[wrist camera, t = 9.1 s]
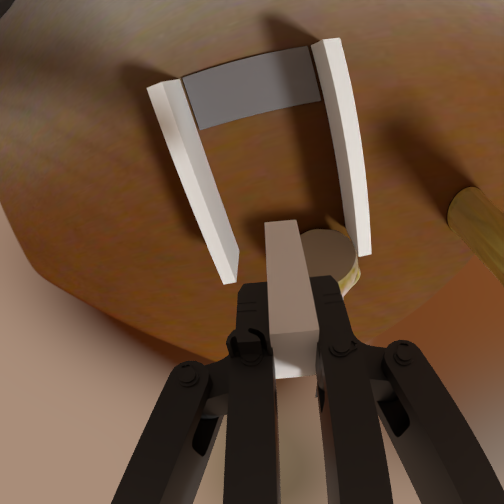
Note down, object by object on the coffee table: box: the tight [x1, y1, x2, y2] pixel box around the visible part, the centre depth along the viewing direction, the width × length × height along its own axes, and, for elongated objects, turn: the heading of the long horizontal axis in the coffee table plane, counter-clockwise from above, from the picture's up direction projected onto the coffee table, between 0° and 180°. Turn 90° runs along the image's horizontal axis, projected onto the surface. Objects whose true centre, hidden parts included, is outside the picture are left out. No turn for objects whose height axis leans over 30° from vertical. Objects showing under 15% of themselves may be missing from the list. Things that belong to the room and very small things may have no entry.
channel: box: [147, 38, 371, 284], centre depth 23 cm, size 18×14×5 cm
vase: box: [447, 187, 504, 286], centre depth 21 cm, size 6×6×14 cm
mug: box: [300, 229, 361, 297], centre depth 29 cm, size 8×10×10 cm
